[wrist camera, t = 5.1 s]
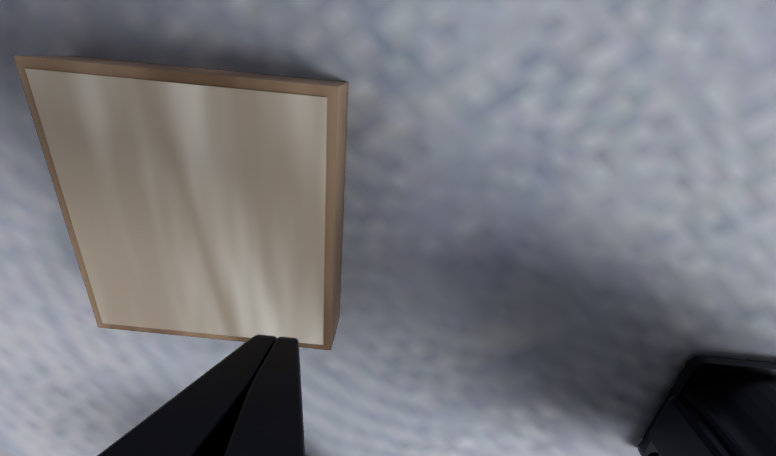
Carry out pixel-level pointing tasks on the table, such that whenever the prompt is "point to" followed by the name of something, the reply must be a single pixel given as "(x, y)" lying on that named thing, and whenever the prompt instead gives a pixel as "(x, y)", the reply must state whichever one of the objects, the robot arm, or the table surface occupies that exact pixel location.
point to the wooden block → (197, 194)
